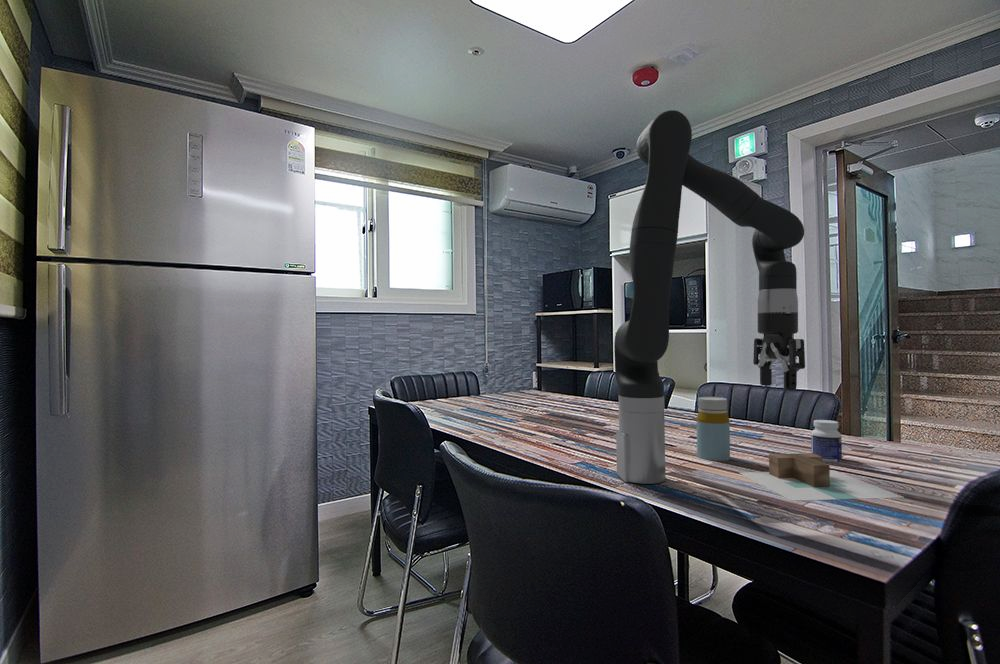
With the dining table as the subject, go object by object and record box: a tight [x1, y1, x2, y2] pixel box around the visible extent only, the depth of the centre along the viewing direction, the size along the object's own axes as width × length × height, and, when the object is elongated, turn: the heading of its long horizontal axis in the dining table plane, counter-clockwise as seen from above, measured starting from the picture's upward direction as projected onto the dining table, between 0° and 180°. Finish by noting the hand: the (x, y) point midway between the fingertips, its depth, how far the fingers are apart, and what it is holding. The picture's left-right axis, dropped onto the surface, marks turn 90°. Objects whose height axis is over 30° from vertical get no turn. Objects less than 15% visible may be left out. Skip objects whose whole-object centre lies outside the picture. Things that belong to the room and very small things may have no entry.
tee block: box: [768, 452, 831, 487], centre depth 95 cm, size 9×9×4 cm
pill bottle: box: [810, 419, 843, 463], centre depth 111 cm, size 6×6×10 cm
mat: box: [739, 469, 905, 502], centre depth 93 cm, size 20×17×2 cm
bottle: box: [696, 396, 731, 462], centre depth 114 cm, size 7×7×15 cm
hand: (777, 387), depth 105 cm, fingers open, 8 cm apart
